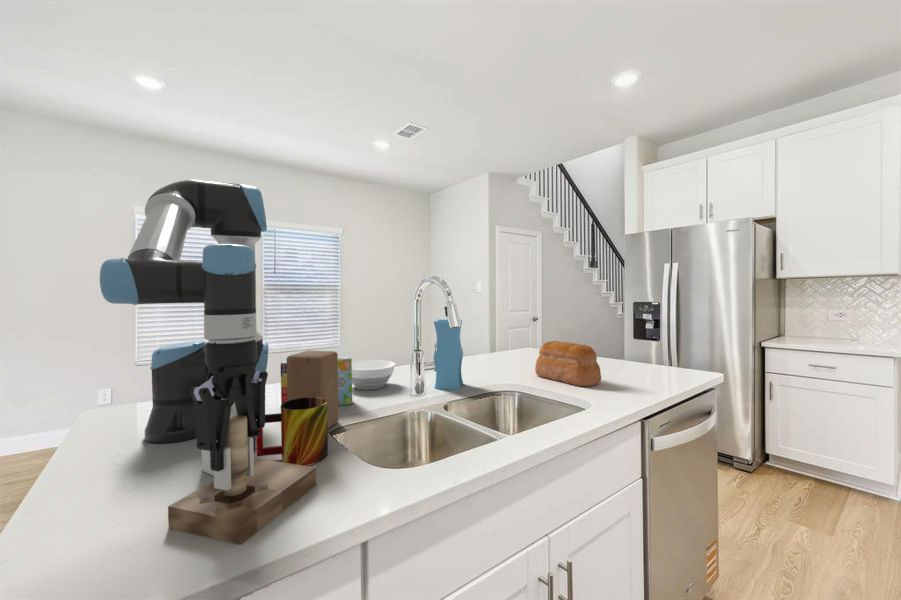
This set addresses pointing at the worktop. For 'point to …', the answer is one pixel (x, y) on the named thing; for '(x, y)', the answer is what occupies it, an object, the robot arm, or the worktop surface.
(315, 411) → the mug
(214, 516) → the board
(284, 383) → the snack box
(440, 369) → the vase
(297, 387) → the wooden block
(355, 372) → the bowl
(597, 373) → the bread
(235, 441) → the peg
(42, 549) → the worktop surface
